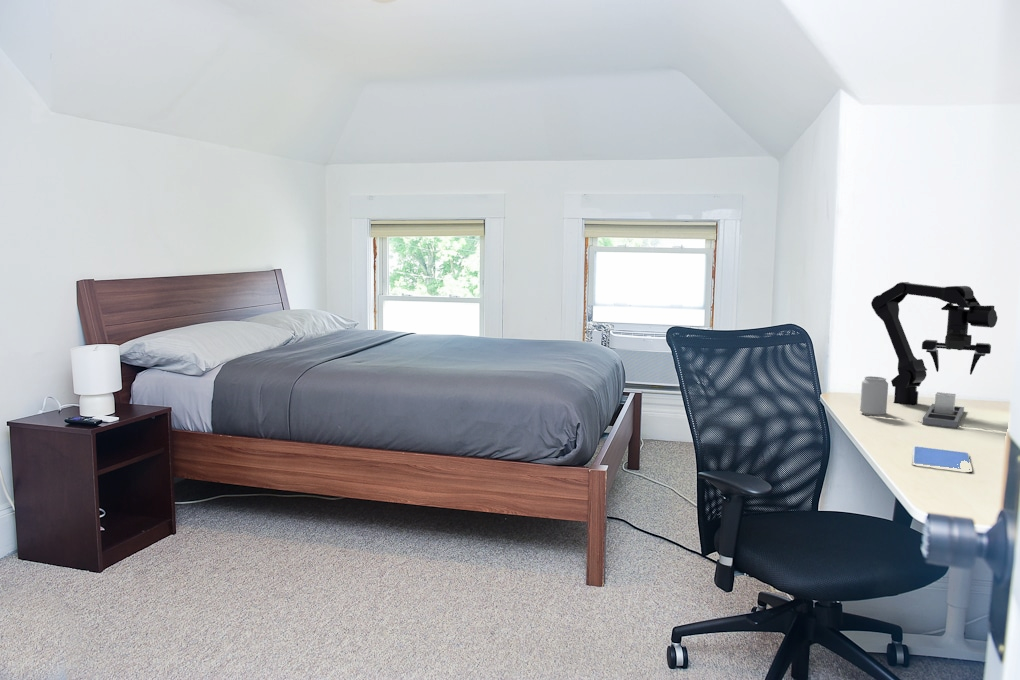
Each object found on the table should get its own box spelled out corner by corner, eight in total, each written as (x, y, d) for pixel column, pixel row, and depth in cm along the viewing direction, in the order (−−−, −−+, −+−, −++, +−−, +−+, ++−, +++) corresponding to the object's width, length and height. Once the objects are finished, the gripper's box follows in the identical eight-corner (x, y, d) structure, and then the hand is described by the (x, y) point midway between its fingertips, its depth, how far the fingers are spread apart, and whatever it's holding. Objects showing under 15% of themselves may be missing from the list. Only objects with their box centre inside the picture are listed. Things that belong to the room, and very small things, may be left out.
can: (880, 412, 235) (882, 375, 234) (890, 417, 228) (892, 379, 227) (856, 411, 236) (858, 375, 235) (865, 416, 229) (867, 379, 227)
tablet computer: (912, 450, 190) (913, 445, 190) (969, 457, 184) (969, 451, 184) (911, 468, 174) (911, 462, 174) (973, 476, 168) (973, 470, 167)
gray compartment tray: (922, 424, 218) (922, 417, 218) (931, 409, 240) (932, 403, 240) (957, 428, 213) (957, 421, 213) (963, 413, 235) (964, 407, 235)
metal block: (933, 416, 226) (935, 394, 225) (935, 413, 230) (937, 392, 229) (952, 418, 223) (954, 396, 222) (953, 416, 227) (955, 394, 227)
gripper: (921, 325, 232) (918, 373, 233) (991, 328, 221) (987, 379, 223) (925, 322, 241) (922, 369, 242) (992, 326, 230) (988, 374, 232)
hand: (953, 373), depth 234 cm, fingers open, 9 cm apart
